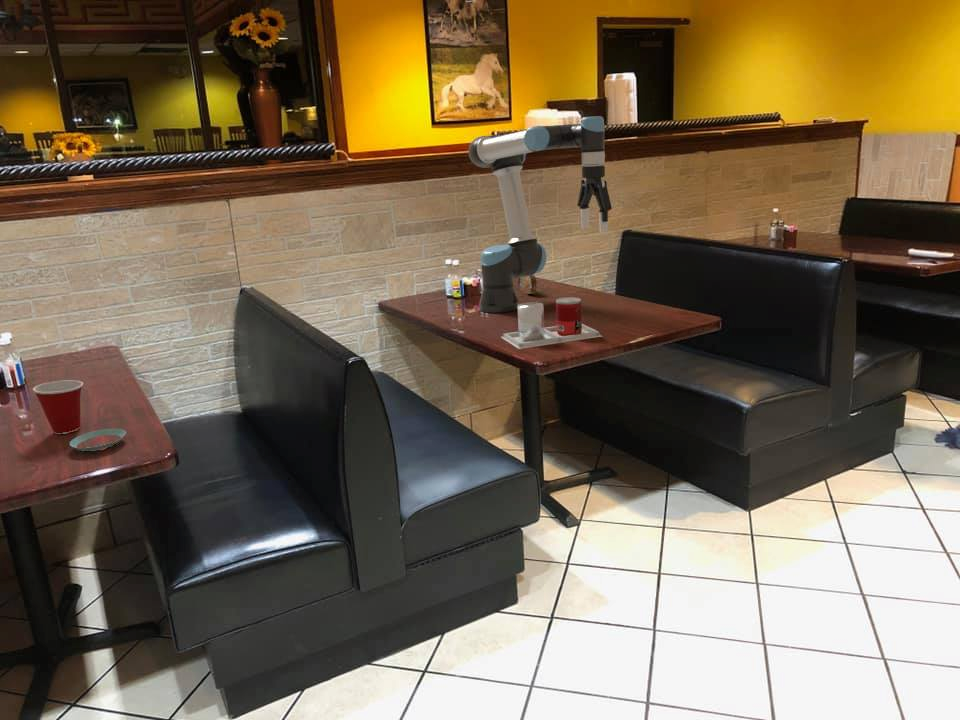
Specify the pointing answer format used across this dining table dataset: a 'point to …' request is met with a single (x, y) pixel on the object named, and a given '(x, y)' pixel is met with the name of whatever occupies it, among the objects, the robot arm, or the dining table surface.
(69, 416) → the plastic cup
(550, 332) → the divided white tray
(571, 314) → the canned food
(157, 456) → the dining table surface
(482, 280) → the robot arm
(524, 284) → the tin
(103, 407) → the dining table surface
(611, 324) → the dining table surface
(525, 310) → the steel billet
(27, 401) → the dining table surface
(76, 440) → the saucer
